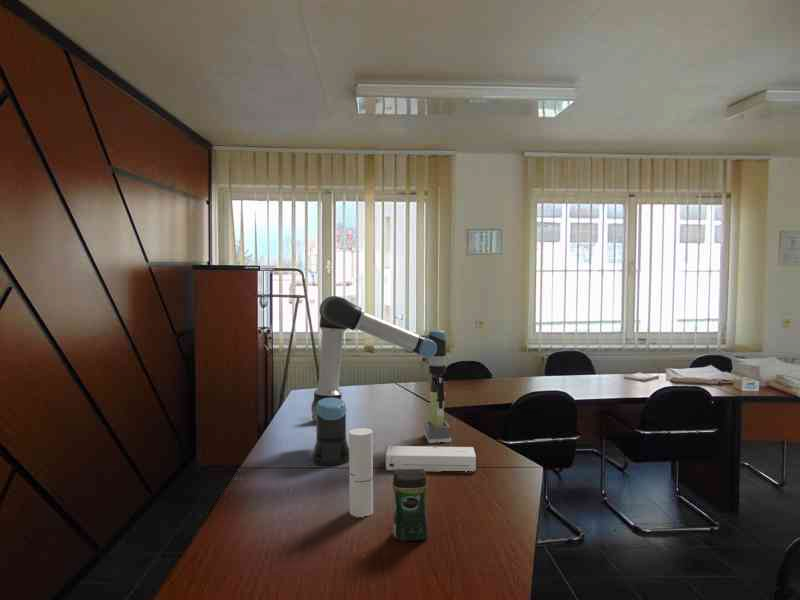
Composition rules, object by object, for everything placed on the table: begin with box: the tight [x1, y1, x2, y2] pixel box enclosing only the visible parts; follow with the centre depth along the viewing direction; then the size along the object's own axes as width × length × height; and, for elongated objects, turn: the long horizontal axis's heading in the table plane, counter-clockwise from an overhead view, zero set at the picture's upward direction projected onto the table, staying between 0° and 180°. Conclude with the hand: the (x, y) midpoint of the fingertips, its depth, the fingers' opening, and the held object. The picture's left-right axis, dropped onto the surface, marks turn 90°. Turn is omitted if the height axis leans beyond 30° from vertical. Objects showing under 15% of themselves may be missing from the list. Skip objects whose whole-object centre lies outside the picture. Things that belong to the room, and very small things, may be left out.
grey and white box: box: [424, 420, 452, 444], centre depth 228 cm, size 12×10×6 cm
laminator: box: [384, 445, 478, 473], centre depth 194 cm, size 34×12×6 cm, turn 87°
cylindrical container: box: [348, 427, 374, 518], centre depth 155 cm, size 7×7×25 cm
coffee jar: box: [392, 469, 429, 542], centre depth 141 cm, size 10×8×19 cm
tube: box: [428, 391, 446, 427], centre depth 228 cm, size 6×5×20 cm
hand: (437, 411), depth 228 cm, fingers open, 13 cm apart
